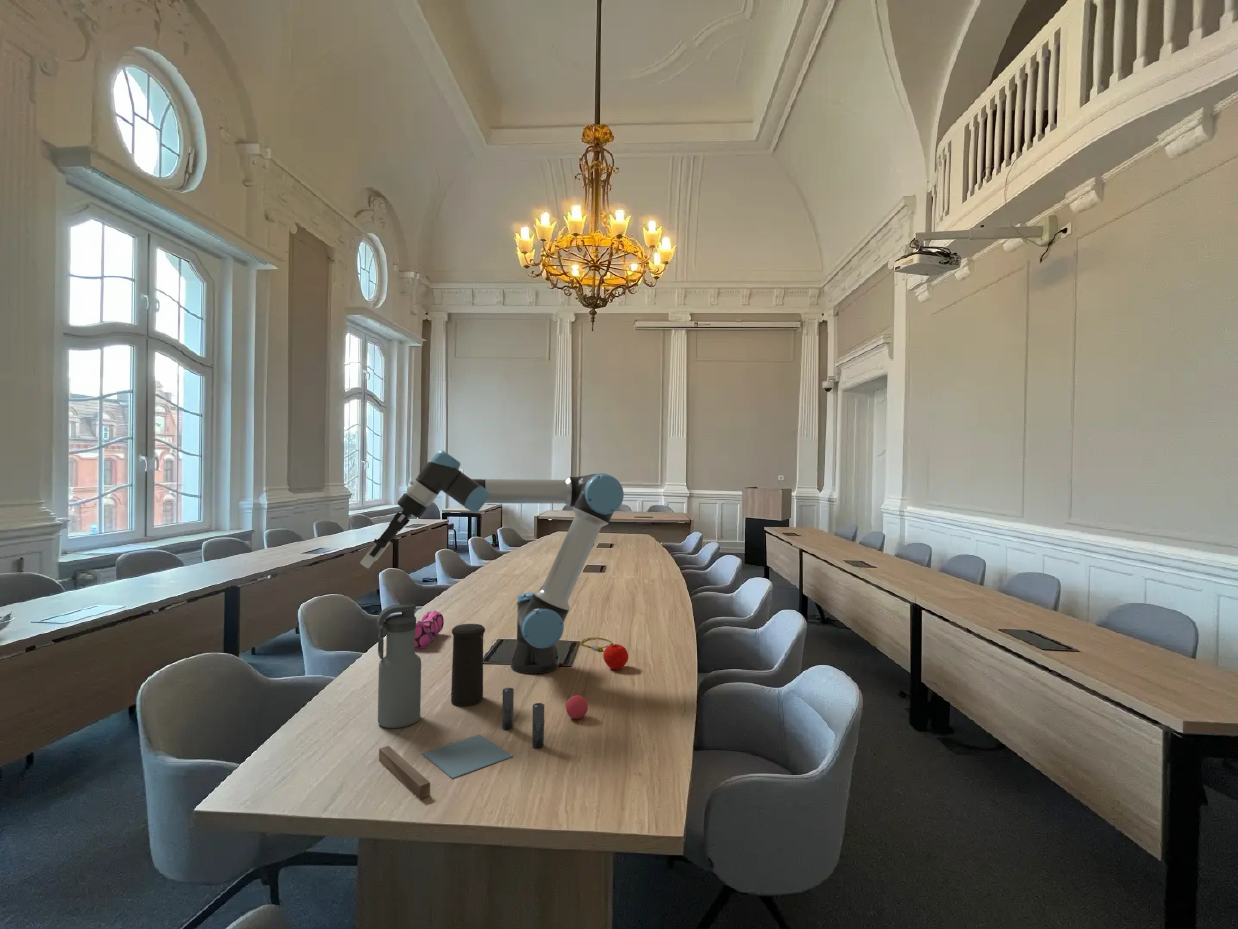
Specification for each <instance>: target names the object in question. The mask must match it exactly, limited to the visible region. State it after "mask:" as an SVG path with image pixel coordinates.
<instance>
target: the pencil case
mask: <svg viewBox="0 0 1238 929" xmlns="http://www.w3.org/2000/svg"><path fill="white" fill-rule="evenodd" d="M444 621H445V620H444V615H443V614H442V613H441V612H439V611H436V610H433V611H428V612H426V613H425V614H424V615H423V617H422V618H421V620H418V621H416V630H415V649H419V650H422V649H424V648H425V649H426V648H427V647H428V646H429V644H430V643H431V642H432V641H433V640H434V639H435V638H437V636H438V635H439V633H440V632H441V631H442V630H443V629H444V628H443V627H444V624H445V622H444Z"/></svg>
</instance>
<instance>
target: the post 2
mask: <svg viewBox="0 0 1238 929" xmlns="http://www.w3.org/2000/svg"><path fill="white" fill-rule="evenodd" d="M531 731H532V734H531V735H532V736H531V737H532V738H531V739H532V740H531V747H532V748H533V749H537V750H540V749H542V748H544V746H545V704H544V703H542V702H538V703H534V704H532V730H531Z"/></svg>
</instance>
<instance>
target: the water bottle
mask: <svg viewBox="0 0 1238 929" xmlns="http://www.w3.org/2000/svg"><path fill="white" fill-rule="evenodd" d="M415 610H417V604H415V603H401V604H392V605H389V606H387V607H384V609H382V610H381V611H380V613H379V614H378V617H377V620H376V625H377V628H378V638H377V642H378V643H377V654H378V657H379V659H380V661H379V663H378V682H377V683H378V687H377V691H378V692H377V693H378V694H377V723H378V724H379V725H380V726H381V727H384V728H387V729H401V727H402V728H405V727H408V726H409V727H410V726H412V725H413V724H416V723H417V722H418V721H419V719H420V717H421V697H422V696H421V695H422V694H421V693H422V692H421V691H422V690H421V689H422V658H421V657H420V656H419V655H418V654H417V653H415V630H416V623H417V617H416V615H415V614H416V613H415ZM396 613H399V614H396ZM392 614H395V615H392ZM384 629H385V633H386V638H385V639H386V641H384ZM384 642H385V643H386V644H385V647H384ZM384 648H386V649H385V650H386V652H385V653H386V654H385V656H384ZM411 724H412V725H411Z"/></svg>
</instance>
